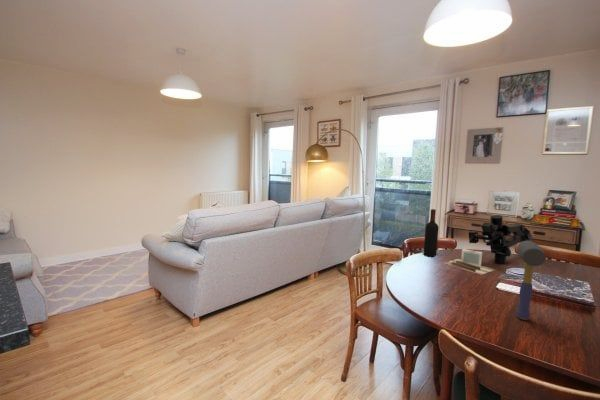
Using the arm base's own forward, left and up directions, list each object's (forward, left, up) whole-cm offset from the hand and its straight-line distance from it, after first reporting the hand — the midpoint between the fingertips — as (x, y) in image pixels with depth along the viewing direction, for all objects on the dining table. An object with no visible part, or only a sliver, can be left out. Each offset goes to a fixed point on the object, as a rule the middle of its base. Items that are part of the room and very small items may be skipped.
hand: (477, 243), depth 161 cm
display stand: (-3, -5, -16) cm, 17 cm away
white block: (-7, -6, -15) cm, 18 cm away
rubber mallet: (+35, +36, -16) cm, 53 cm away
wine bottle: (-3, -30, -16) cm, 34 cm away
